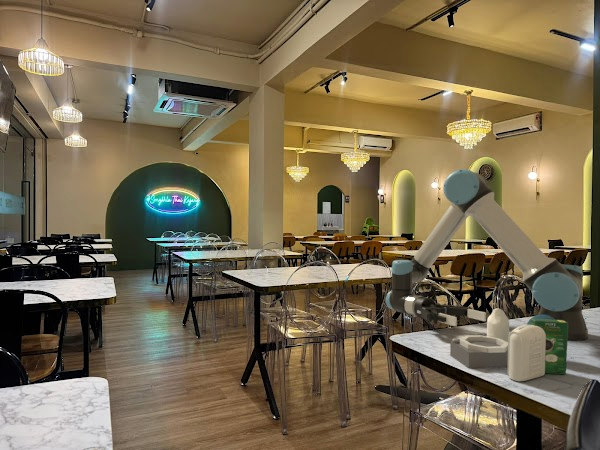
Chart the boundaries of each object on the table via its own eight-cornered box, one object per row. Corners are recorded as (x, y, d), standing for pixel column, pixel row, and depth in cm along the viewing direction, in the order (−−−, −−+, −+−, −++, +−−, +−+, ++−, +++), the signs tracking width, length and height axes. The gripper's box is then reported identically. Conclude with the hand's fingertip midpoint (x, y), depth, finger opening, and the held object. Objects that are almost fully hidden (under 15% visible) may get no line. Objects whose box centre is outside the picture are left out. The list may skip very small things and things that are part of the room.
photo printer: (530, 370, 106) (531, 320, 105) (547, 375, 102) (548, 324, 101) (504, 377, 101) (505, 326, 100) (521, 384, 97) (522, 330, 96)
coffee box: (561, 370, 105) (563, 318, 105) (567, 375, 102) (568, 321, 102) (527, 369, 106) (528, 317, 106) (532, 373, 104) (533, 320, 103)
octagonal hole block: (496, 353, 119) (496, 334, 119) (522, 367, 108) (522, 347, 108) (449, 354, 118) (449, 336, 118) (470, 369, 106) (470, 348, 106)
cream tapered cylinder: (505, 306, 126) (513, 310, 121) (504, 345, 126) (512, 351, 121) (484, 305, 127) (491, 309, 121) (483, 345, 127) (490, 351, 121)
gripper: (445, 313, 156) (496, 326, 138) (393, 321, 144) (442, 336, 126) (445, 293, 156) (496, 303, 138) (394, 299, 144) (442, 311, 126)
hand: (471, 319), depth 132 cm, fingers open, 13 cm apart
